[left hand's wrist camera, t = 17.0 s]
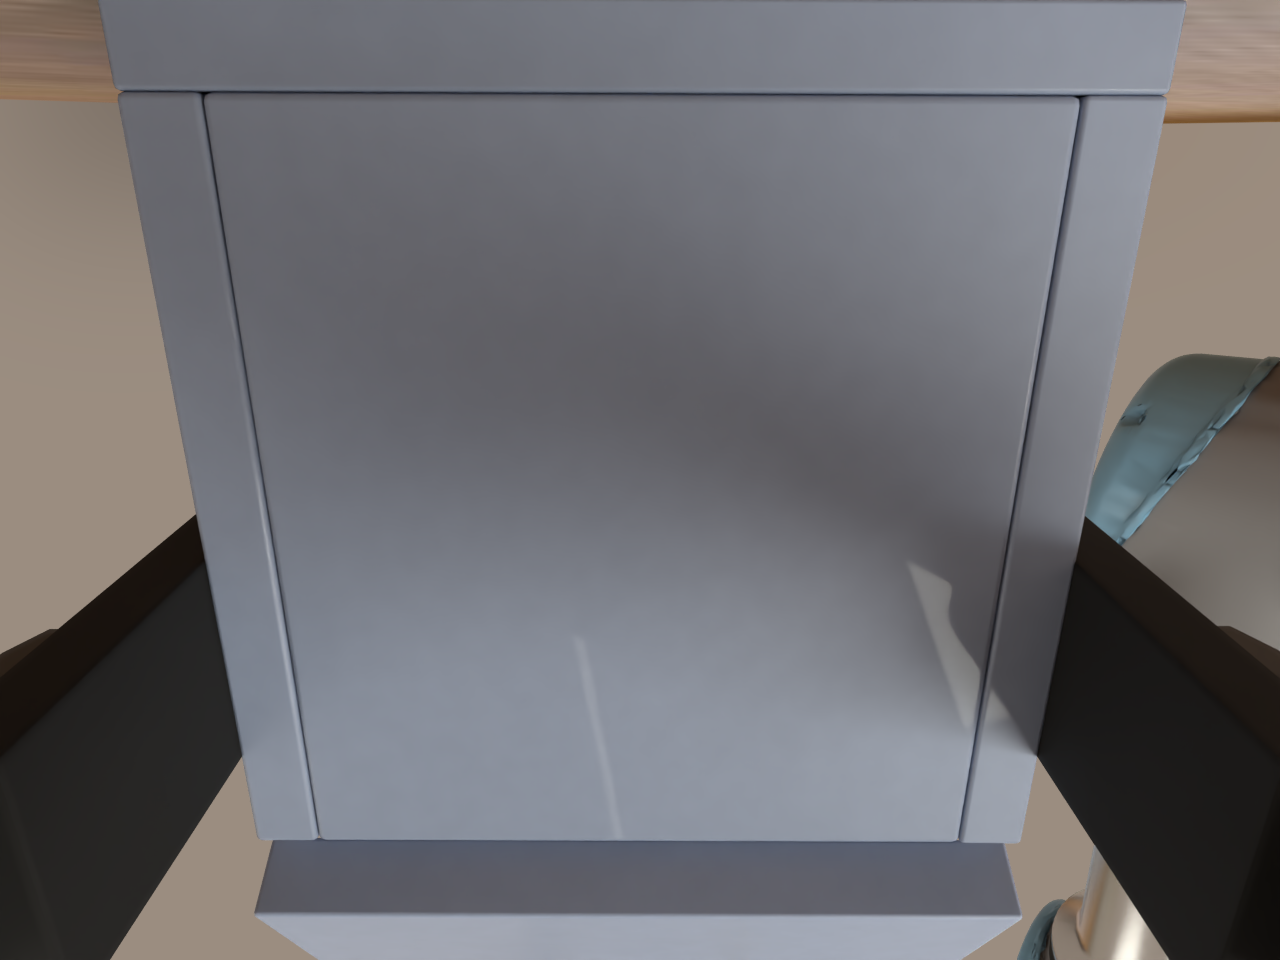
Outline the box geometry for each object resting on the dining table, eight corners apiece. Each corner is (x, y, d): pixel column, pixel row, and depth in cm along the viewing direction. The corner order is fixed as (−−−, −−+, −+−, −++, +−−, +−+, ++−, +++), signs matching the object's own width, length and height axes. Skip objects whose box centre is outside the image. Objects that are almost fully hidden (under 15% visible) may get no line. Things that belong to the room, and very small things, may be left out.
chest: (857, 92, 20) (824, 486, 24) (425, 90, 20) (455, 485, 24) (1190, -2, 8) (1021, 846, 11) (94, -7, 8) (256, 842, 11)
